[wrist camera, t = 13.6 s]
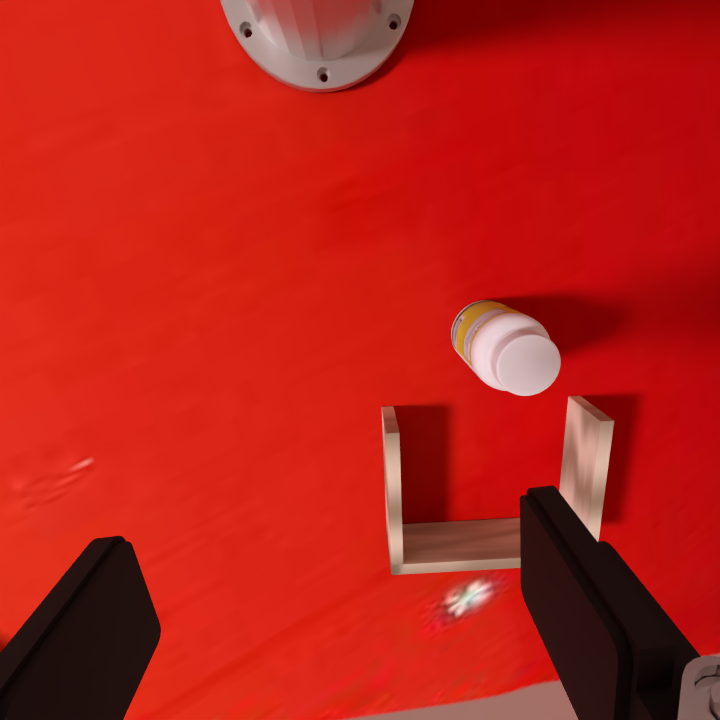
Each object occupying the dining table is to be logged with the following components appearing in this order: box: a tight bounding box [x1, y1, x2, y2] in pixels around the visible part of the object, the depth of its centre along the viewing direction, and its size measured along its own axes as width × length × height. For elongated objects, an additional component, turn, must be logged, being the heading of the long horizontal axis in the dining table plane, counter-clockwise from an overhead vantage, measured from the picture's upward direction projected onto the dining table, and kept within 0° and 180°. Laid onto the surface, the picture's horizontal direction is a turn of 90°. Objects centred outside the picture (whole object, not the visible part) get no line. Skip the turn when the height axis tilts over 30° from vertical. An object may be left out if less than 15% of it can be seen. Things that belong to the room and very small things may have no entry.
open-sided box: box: [382, 396, 614, 575], centre depth 36 cm, size 13×17×5 cm
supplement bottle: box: [451, 300, 561, 396], centre depth 30 cm, size 5×5×10 cm
